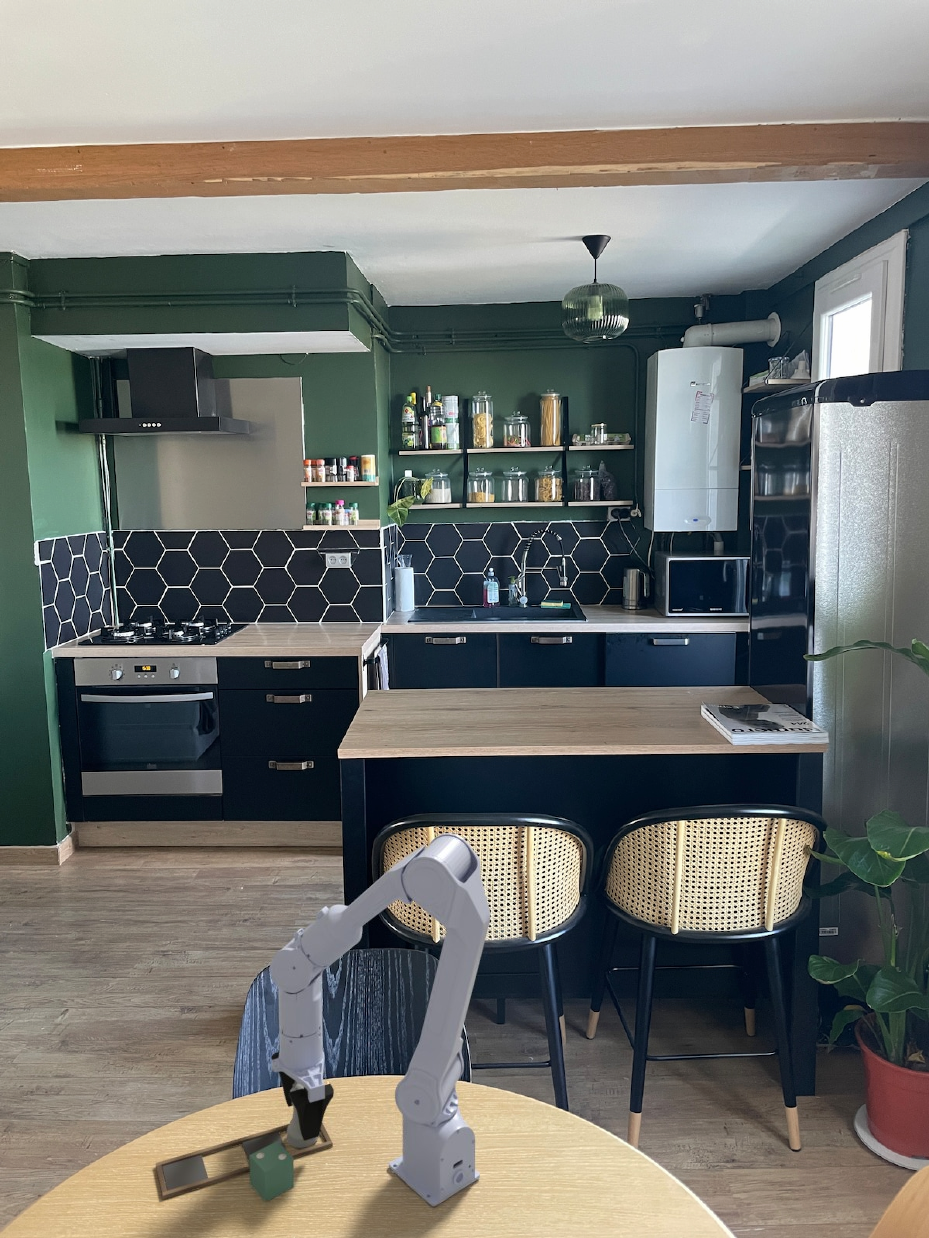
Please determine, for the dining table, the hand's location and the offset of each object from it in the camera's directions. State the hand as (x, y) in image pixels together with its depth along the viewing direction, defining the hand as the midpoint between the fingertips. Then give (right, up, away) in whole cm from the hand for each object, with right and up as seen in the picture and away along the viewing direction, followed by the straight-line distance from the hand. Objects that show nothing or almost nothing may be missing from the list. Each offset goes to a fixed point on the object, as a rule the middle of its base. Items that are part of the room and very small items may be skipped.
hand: (302, 1119), depth 125 cm
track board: (-7, -3, -3) cm, 8 cm away
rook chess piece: (0, -3, 0) cm, 3 cm away
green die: (-2, -4, -8) cm, 9 cm away
